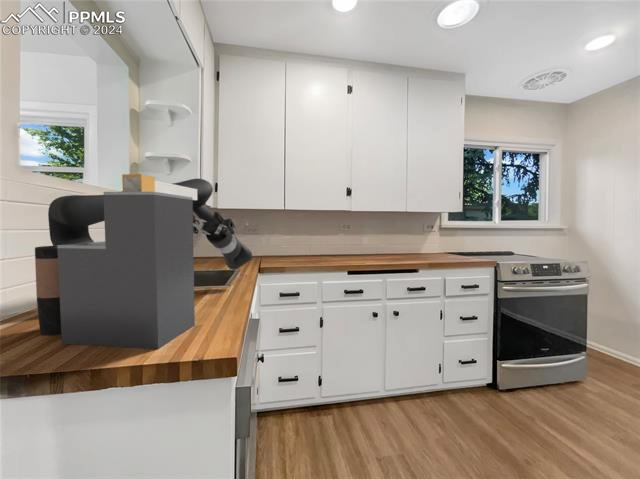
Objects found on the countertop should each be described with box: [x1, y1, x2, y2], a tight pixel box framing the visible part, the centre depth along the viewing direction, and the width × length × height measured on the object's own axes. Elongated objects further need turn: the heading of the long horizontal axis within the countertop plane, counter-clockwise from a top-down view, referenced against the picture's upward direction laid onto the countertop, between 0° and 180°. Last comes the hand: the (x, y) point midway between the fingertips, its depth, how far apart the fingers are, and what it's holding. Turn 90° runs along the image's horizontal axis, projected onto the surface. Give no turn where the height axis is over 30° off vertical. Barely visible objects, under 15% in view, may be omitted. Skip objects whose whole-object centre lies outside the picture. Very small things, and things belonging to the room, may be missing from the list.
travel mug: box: [34, 245, 61, 336], centre depth 70 cm, size 8×8×20 cm
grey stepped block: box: [57, 191, 196, 350], centre depth 67 cm, size 22×14×32 cm, turn 84°
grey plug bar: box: [121, 173, 197, 200], centre depth 70 cm, size 4×22×4 cm, turn 174°
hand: (201, 214), depth 87 cm, fingers open, 8 cm apart
